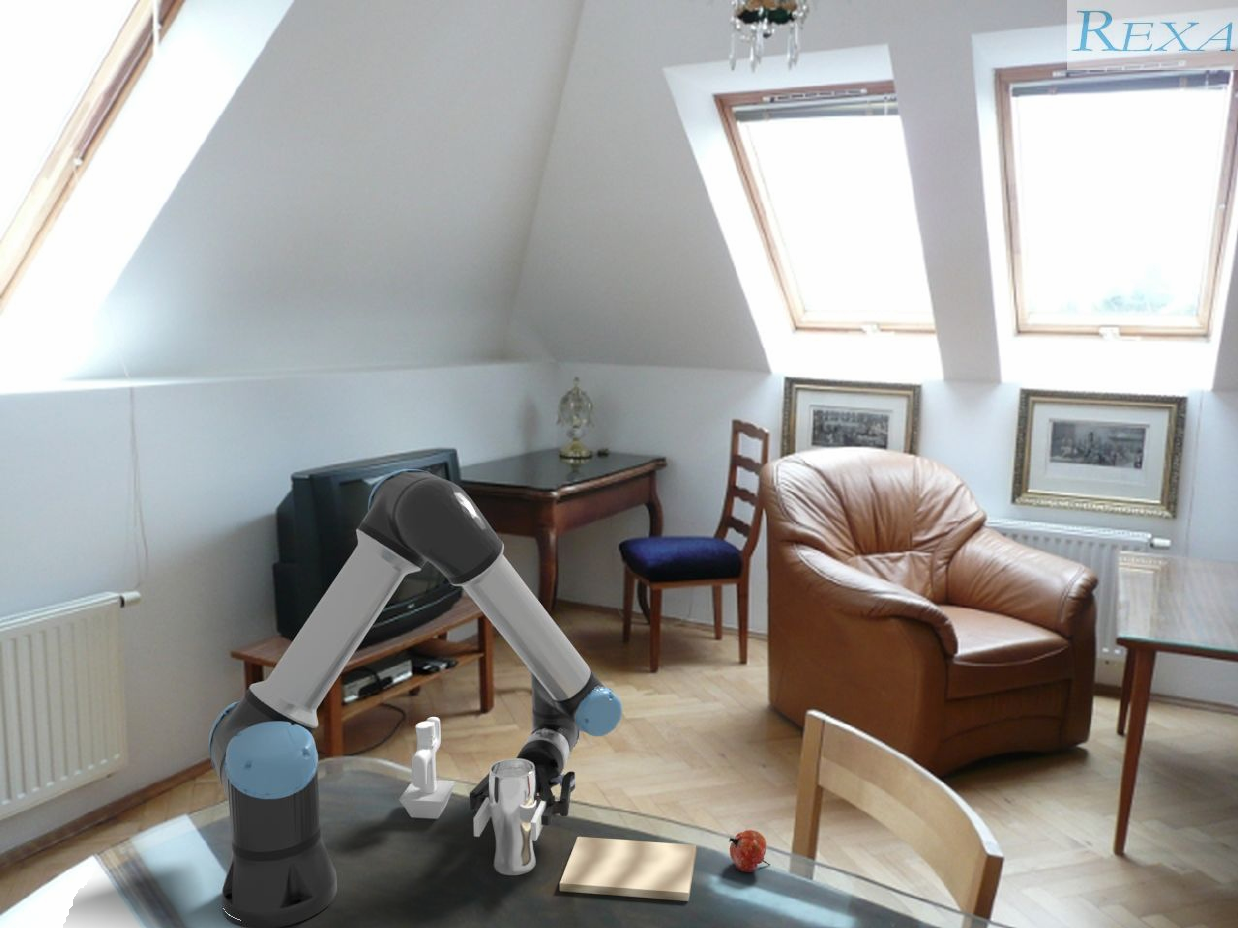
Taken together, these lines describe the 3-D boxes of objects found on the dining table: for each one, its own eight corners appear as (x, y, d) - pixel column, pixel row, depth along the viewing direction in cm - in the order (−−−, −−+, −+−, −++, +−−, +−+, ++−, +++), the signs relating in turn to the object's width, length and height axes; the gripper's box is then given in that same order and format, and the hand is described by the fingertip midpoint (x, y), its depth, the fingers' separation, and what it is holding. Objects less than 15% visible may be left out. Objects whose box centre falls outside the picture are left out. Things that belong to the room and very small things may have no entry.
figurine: (397, 824, 164) (393, 734, 162) (416, 796, 174) (413, 711, 171) (441, 826, 163) (438, 736, 161) (458, 799, 173) (455, 713, 170)
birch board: (559, 890, 145) (559, 882, 145) (577, 843, 158) (577, 836, 157) (688, 900, 142) (688, 892, 142) (696, 852, 155) (696, 844, 155)
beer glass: (531, 879, 148) (528, 779, 146) (484, 874, 149) (481, 776, 147) (544, 854, 155) (542, 759, 152) (499, 850, 156) (496, 755, 154)
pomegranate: (756, 865, 154) (715, 838, 153) (780, 839, 153) (739, 811, 152) (760, 890, 149) (718, 862, 148) (785, 863, 147) (743, 835, 146)
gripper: (480, 735, 169) (433, 799, 147) (603, 741, 166) (575, 808, 144) (481, 778, 170) (435, 849, 148) (604, 785, 167) (576, 859, 145)
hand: (504, 829), depth 146 cm, fingers open, 8 cm apart
